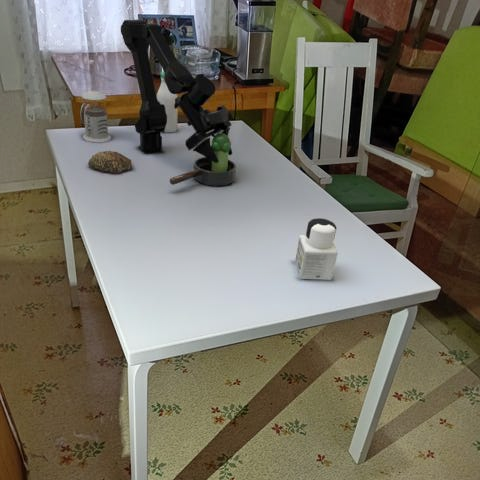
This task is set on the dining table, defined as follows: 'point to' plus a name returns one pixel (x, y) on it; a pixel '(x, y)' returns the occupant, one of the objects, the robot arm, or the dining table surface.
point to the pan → (214, 173)
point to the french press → (99, 123)
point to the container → (317, 250)
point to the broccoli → (221, 152)
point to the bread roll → (110, 162)
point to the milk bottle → (168, 105)
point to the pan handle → (186, 176)
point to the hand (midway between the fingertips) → (224, 158)
